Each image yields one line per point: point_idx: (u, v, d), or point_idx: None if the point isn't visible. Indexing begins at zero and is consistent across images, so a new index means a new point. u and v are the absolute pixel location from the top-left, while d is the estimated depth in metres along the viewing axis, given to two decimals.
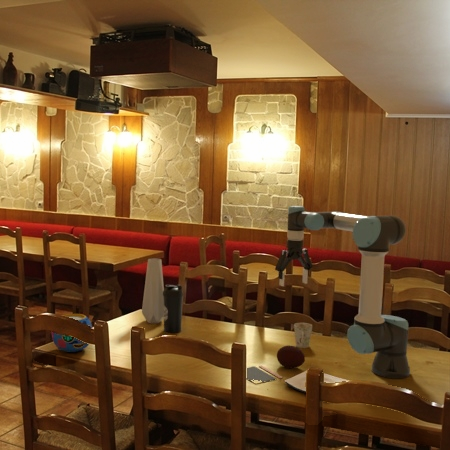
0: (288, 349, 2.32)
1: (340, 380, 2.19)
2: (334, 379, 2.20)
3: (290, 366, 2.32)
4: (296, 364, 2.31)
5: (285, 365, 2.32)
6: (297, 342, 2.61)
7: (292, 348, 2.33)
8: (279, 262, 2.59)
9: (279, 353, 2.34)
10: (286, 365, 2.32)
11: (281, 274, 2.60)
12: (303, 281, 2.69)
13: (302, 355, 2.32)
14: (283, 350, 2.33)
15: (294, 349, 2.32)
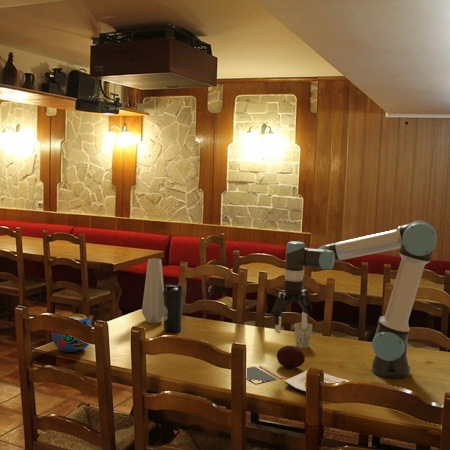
0: (288, 349, 2.32)
1: (340, 380, 2.19)
2: (334, 379, 2.20)
3: (290, 366, 2.32)
4: (296, 364, 2.31)
5: (285, 365, 2.32)
6: (297, 342, 2.61)
7: (292, 348, 2.33)
8: (275, 306, 2.28)
9: (279, 353, 2.34)
10: (286, 365, 2.32)
11: (277, 319, 2.28)
12: (302, 326, 2.37)
13: (302, 355, 2.32)
14: (283, 350, 2.33)
15: (294, 349, 2.32)
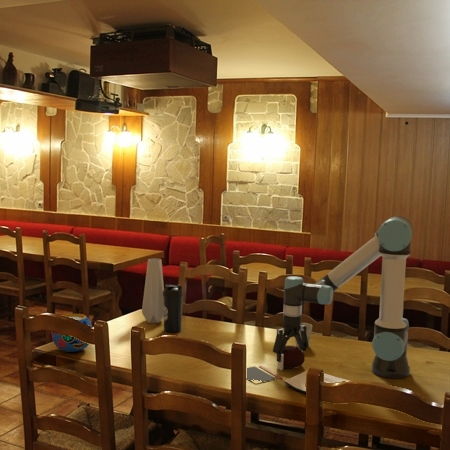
0: (287, 349, 2.32)
1: (340, 380, 2.19)
2: (334, 379, 2.20)
3: (290, 366, 2.32)
4: (296, 364, 2.31)
5: (285, 365, 2.32)
6: None
7: (292, 348, 2.33)
8: (276, 343, 2.30)
9: None
10: (286, 365, 2.32)
11: (280, 357, 2.31)
12: None
13: (302, 355, 2.32)
14: (283, 350, 2.33)
15: (294, 349, 2.32)
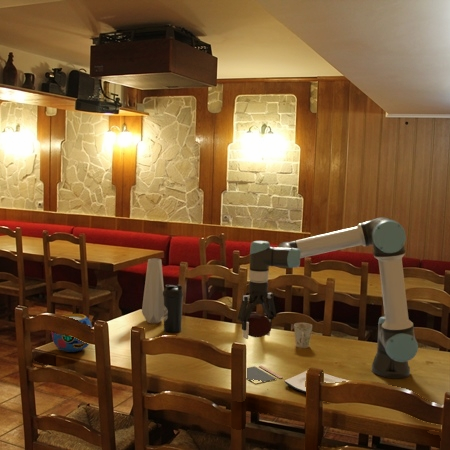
0: (253, 317, 2.21)
1: (340, 380, 2.19)
2: (334, 379, 2.20)
3: (255, 335, 2.21)
4: (262, 332, 2.20)
5: (250, 334, 2.21)
6: (297, 342, 2.61)
7: (258, 316, 2.22)
8: (241, 310, 2.19)
9: None
10: (251, 334, 2.21)
11: (245, 325, 2.20)
12: None
13: (268, 323, 2.21)
14: None
15: (260, 317, 2.21)
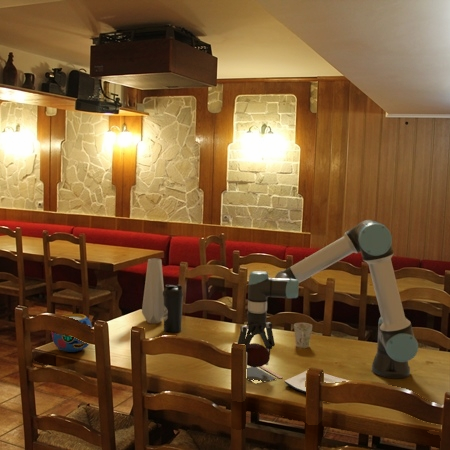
0: (252, 347, 2.22)
1: (340, 380, 2.19)
2: (334, 379, 2.20)
3: (254, 365, 2.22)
4: (260, 362, 2.21)
5: (249, 364, 2.22)
6: (297, 342, 2.61)
7: (256, 346, 2.23)
8: (239, 341, 2.20)
9: None
10: (250, 364, 2.22)
11: None
12: None
13: (267, 353, 2.22)
14: (247, 348, 2.23)
15: (258, 347, 2.22)
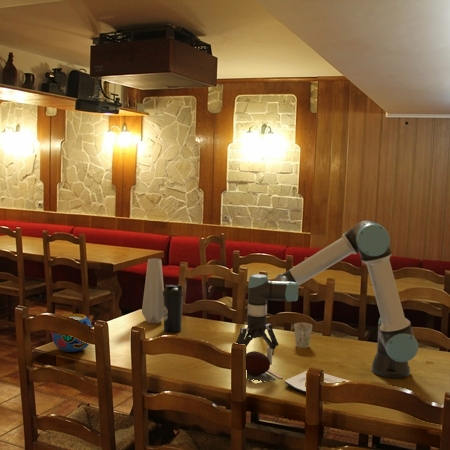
0: (252, 355, 2.23)
1: (340, 380, 2.19)
2: (334, 379, 2.20)
3: (254, 373, 2.22)
4: (260, 370, 2.21)
5: (249, 372, 2.22)
6: (297, 342, 2.61)
7: (257, 354, 2.23)
8: (237, 342, 2.19)
9: None
10: (250, 372, 2.22)
11: None
12: None
13: (267, 361, 2.22)
14: (247, 356, 2.23)
15: (259, 355, 2.22)
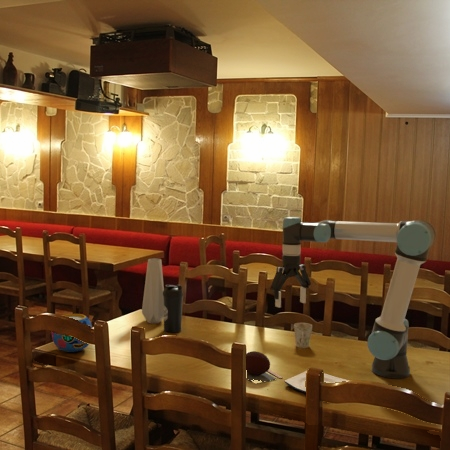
0: (252, 355, 2.23)
1: (340, 380, 2.19)
2: (334, 379, 2.20)
3: (254, 373, 2.22)
4: (260, 370, 2.21)
5: (249, 372, 2.22)
6: (297, 342, 2.61)
7: (257, 354, 2.23)
8: (275, 280, 2.31)
9: None
10: (250, 372, 2.22)
11: (277, 294, 2.32)
12: (301, 300, 2.41)
13: (267, 361, 2.22)
14: (247, 356, 2.23)
15: (259, 355, 2.22)
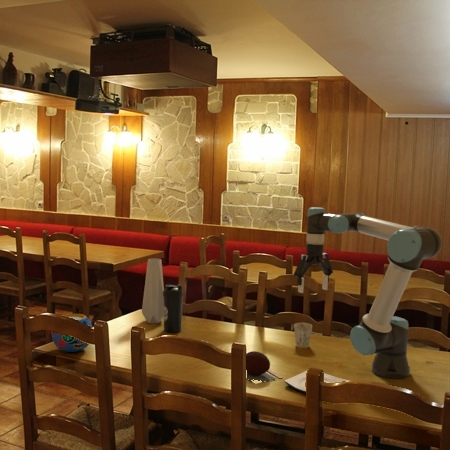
0: (252, 355, 2.23)
1: (340, 380, 2.19)
2: (334, 379, 2.20)
3: (254, 373, 2.22)
4: (260, 370, 2.21)
5: (249, 372, 2.22)
6: (297, 342, 2.61)
7: (257, 354, 2.23)
8: (298, 267, 2.43)
9: None
10: (250, 372, 2.22)
11: (300, 280, 2.44)
12: (323, 287, 2.53)
13: (267, 361, 2.22)
14: (247, 356, 2.23)
15: (259, 355, 2.22)
